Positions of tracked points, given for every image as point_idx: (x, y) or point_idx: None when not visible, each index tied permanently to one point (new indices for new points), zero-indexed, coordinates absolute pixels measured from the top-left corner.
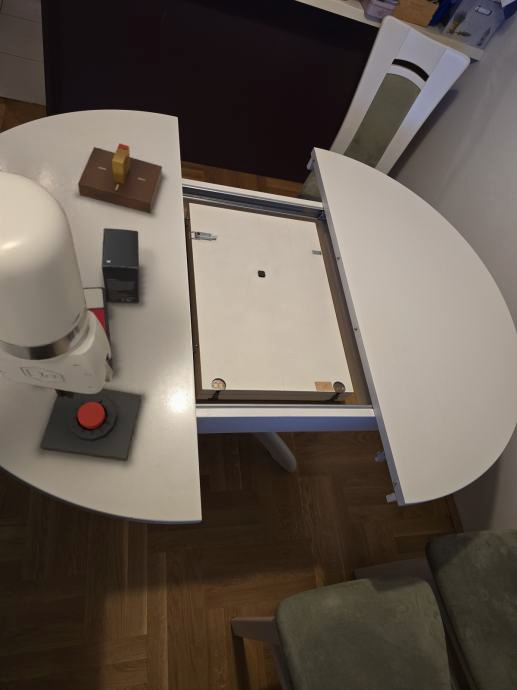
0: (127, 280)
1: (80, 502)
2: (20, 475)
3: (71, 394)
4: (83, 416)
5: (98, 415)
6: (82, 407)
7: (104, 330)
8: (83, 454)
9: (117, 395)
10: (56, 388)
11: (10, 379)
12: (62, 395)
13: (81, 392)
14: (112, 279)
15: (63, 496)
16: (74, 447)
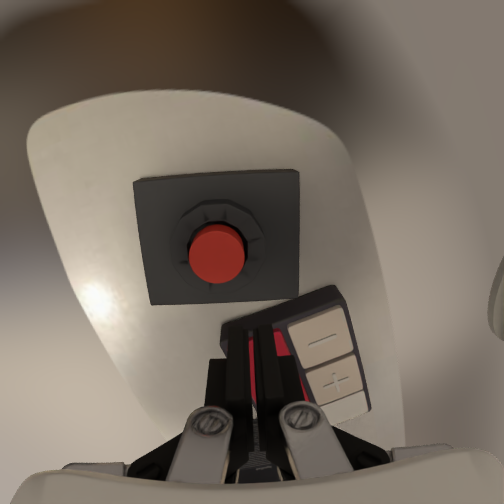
0: (240, 471)
1: (197, 91)
2: (314, 120)
3: (228, 348)
4: (229, 249)
5: (199, 258)
6: (238, 267)
7: (253, 397)
8: (218, 172)
9: (191, 296)
10: (228, 498)
11: (465, 460)
12: (259, 333)
13: (91, 484)
14: (263, 468)
15: (230, 95)
16: (234, 181)
